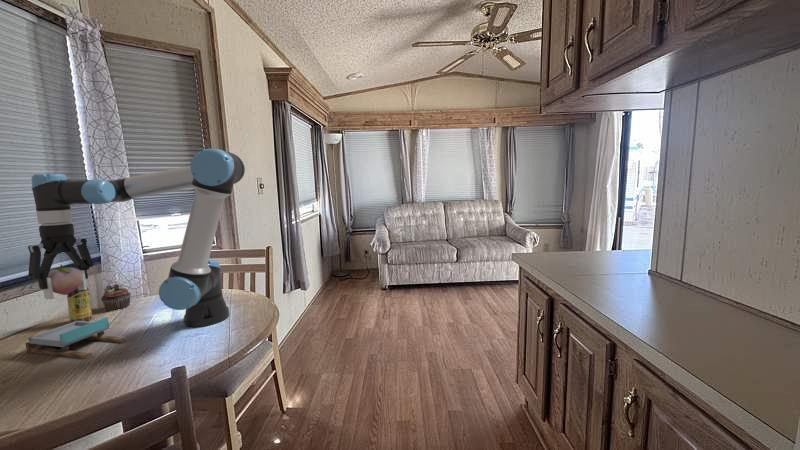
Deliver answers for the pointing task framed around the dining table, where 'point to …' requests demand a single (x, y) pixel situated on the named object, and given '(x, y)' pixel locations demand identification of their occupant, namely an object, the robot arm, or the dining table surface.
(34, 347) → the rails
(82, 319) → the sauce bottle
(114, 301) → the cupcake
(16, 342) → the dining table surface
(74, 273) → the decorative fruit
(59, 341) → the shallow teal tray
